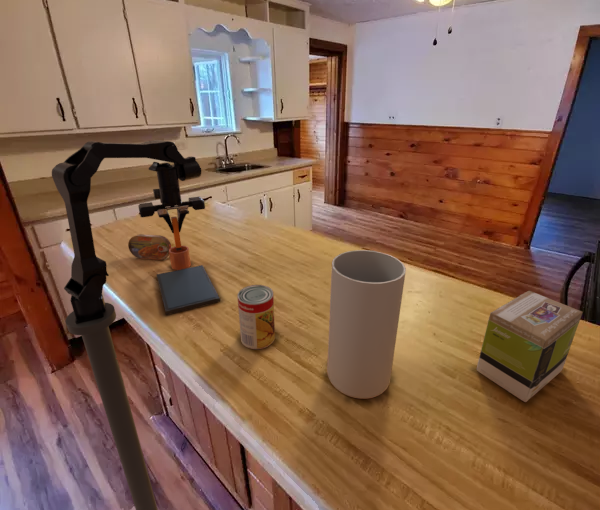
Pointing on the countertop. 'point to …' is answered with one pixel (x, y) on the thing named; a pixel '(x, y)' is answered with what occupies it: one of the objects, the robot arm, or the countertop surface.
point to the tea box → (527, 343)
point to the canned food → (256, 316)
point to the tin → (149, 246)
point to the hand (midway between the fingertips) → (176, 232)
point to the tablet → (186, 289)
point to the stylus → (176, 233)
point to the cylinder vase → (363, 321)
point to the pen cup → (180, 258)
